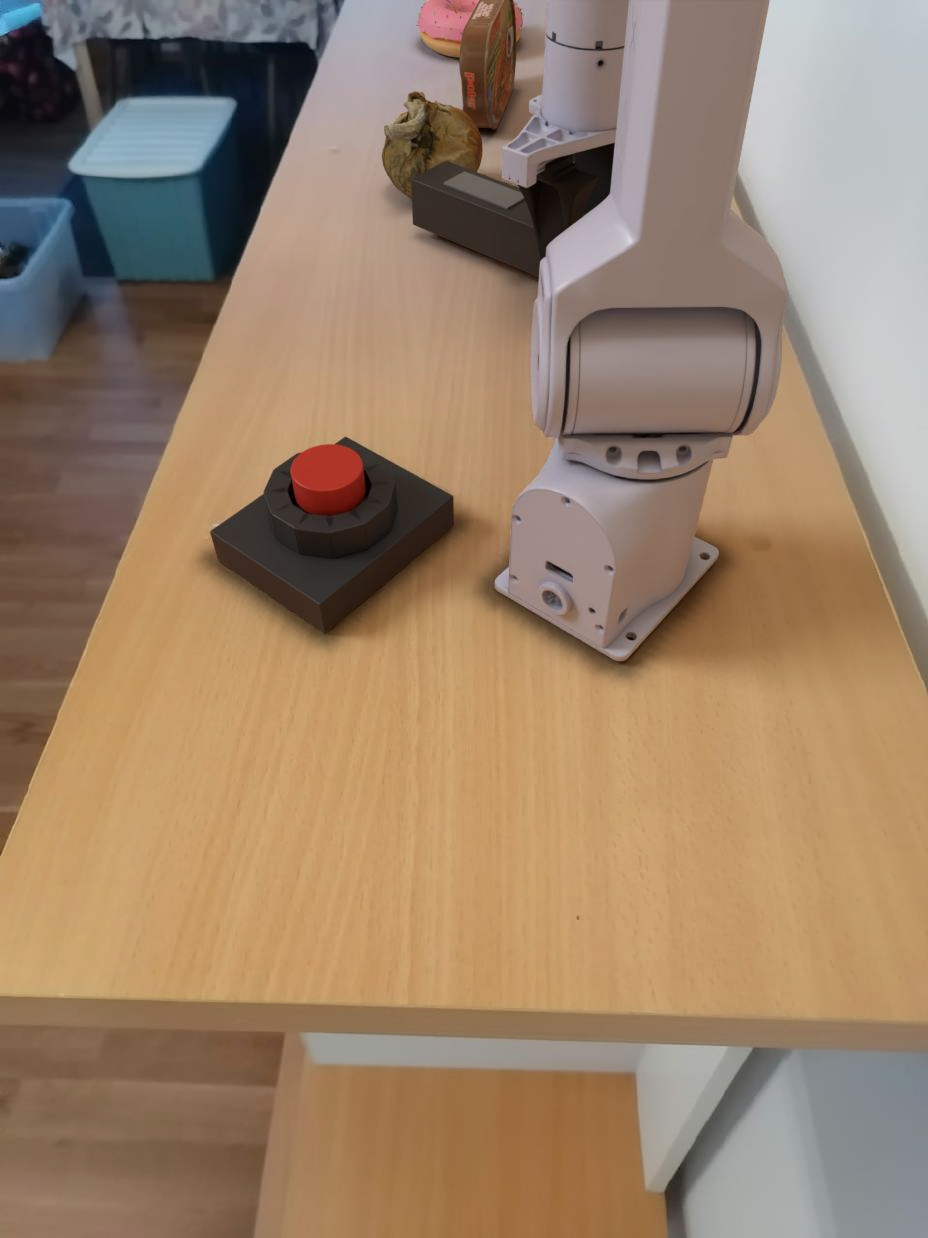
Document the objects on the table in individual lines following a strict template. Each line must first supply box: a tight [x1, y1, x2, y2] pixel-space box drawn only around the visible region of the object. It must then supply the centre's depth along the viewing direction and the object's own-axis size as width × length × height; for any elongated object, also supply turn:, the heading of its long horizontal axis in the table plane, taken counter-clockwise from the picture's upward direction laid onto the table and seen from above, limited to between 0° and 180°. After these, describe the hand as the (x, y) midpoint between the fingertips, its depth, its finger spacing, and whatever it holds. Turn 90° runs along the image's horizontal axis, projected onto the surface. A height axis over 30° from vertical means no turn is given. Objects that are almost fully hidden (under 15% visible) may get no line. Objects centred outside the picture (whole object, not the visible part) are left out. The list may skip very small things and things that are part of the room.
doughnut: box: [416, 0, 524, 59], centre depth 98 cm, size 11×11×4 cm
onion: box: [381, 90, 483, 199], centre depth 75 cm, size 8×8×8 cm
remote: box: [411, 161, 587, 278], centre depth 69 cm, size 15×4×4 cm, turn 50°
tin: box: [458, 0, 517, 130], centre depth 85 cm, size 15×3×8 cm, turn 168°
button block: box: [209, 436, 455, 634], centre depth 50 cm, size 10×8×4 cm
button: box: [290, 443, 366, 516], centre depth 48 cm, size 4×4×2 cm
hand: (574, 251), depth 66 cm, fingers closed on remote, 4 cm apart
